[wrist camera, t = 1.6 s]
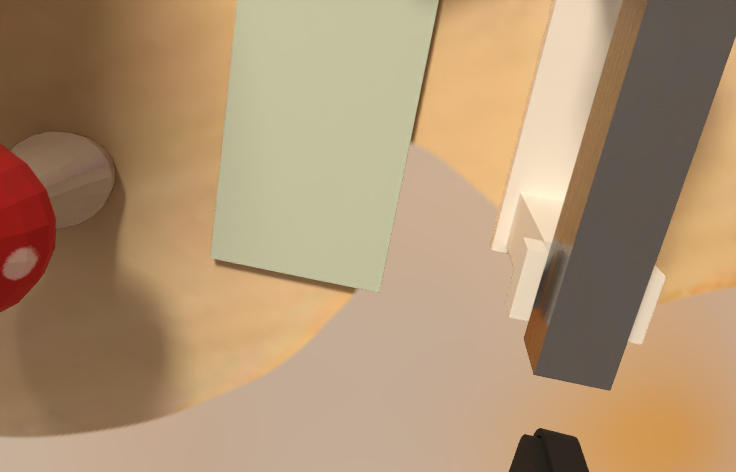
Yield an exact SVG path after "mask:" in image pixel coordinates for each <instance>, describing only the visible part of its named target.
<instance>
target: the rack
mask: <svg viewBox="0 0 736 472" xmlns="http://www.w3.org/2000/svg"><path fill="white" fill-rule="evenodd" d="M622 1H623V0H553V2H552V5H551V9H550V13H549V17H548V21H547V25H546V29H545V32H544V36H543V40H542V44H541V48H540V52H539V56H538V60H537V63H536V67H535V71H534V75H533V79H532V83H531V87H530V90H529V94H528V98H527V102H526V106H525V110H524V114H523V118H522V121H521V125H520V129H519V133H518V137H517V141H516V145H515V148H514V152H513V156H512V160H511V164H510V168H509V172H508V176H507V179H506V183H505V187H504V191H503V195H502V199H501V203H500V206H499V210H498V214H497V218H496V222H495V226H494V230H493V234H492V237H491V241H490V247H491V250H492V251H497V252H502V253H507V254H509V255H510V258H511V261H512V264H513V268H514V272H513V275H512V278H511V282H510V286H509V289H508V293H507V297H506V300H505V304H506V308H507V312H508V317H509V318H513V319H518V320H523V321H529V318H530V314H531V310H532V308H533V305H534V302H535V299H536V295H537V292H538V288H539V285H540V281H541V278H542V275H543V271H544V268H545V264H546V261H547V258H548V254H549V251H550V247H551V244H552V240H553V237H554V234H555V230H556V227H557V223H558V220H559V217H560V213H561V210H562V206H563V203H564V200H565V196H566V193H567V189H568V186H569V182H570V179H571V176H572V172H573V169H574V165H575V162H576V159H577V155H578V152H579V148H580V145H581V141H582V138H583V135H584V131H585V128H586V124H587V121H588V118H589V114H590V111H591V107H592V104H593V100H594V97H595V94H596V90H597V87H598V83H599V80H600V77H601V73H602V70H603V66H604V63H605V59H606V56H607V53H608V49H609V46H610V42H611V39H612V36H613V32H614V29H615V25H616V22H617V18H618V15H619V12H620V8H621V5H622ZM665 279H666V276H665V275H664V274H663V273H662V272H661V271H660V270H659V269H658V267H657V266H656V265H655V266H654V268H653V271H652V274H651V277H650V280H649V283H648V285H647V288H646V291H645V294H644V297H643V300H642V302H641V305H640V308H639V311H638V314H637V316H636V319H635V322H634V325H633V328H632V331H631V333H630V336H629V339H628V342H630V343H636V344H640V345H641V344H642V342H643V339H644V337H645V334H646V331H647V328H648V326H649V323H650V320H651V317H652V314H653V312H654V309H655V306H656V304H657V301H658V298H659V295H660V293H661V290H662V287H663V284H664V282H665Z"/></svg>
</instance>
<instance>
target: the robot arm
mask: <svg viewBox="0 0 736 472" xmlns="http://www.w3.org/2000/svg"><path fill="white" fill-rule="evenodd" d="M509 472H589V470H588V467H587V464H586V461H585V459H584V455H583V453H582V449H581V446H580V443H579V441H578V439H577V438H576V437H574V436H570V435H566V434H562V433H558V432H554V431H550V430H546V429H542V428H539V429H537V430H536V432H535V433H534V436H530V435H526V434H525V435H523V436H522V437H521V439H520V442H519V444H518V447H517V450H516V453H515V456H514V459H513V461H512V464H511V467H510V470H509Z"/></svg>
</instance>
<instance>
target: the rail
mask: <svg viewBox="0 0 736 472" xmlns="http://www.w3.org/2000/svg"><path fill="white" fill-rule="evenodd" d="M735 37H736V0H623V1H622V5H621V8H620V12H619V15H618V18H617V22H616V25H615V29H614V32H613V36H612V39H611V42H610V46H609V49H608V53H607V56H606V59H605V63H604V66H603V70H602V73H601V77H600V80H599V83H598V87H597V90H596V94H595V97H594V100H593V104H592V107H591V111H590V114H589V118H588V121H587V124H586V128H585V131H584V135H583V138H582V141H581V145H580V148H579V152H578V155H577V159H576V162H575V165H574V169H573V172H572V176H571V179H570V182H569V186H568V189H567V193H566V196H565V200H564V203H563V206H562V210H561V213H560V217H559V220H558V223H557V227H556V230H555V234H554V237H553V240H552V244H551V247H550V251H549V254H548V258H547V261H546V264H545V268H544V271H543V275H542V278H541V281H540V285H539V288H538V292H537V295H536V299H535V302H534V305H533V309H532V312H531V316H530V319H529V323H528V326H527V329H526V333H525V336H524V341H525V345H526V349H527V352H528V356H529V359H530V363H531V367H532V370H533V374H534V375H537V376H542V377H547V378H552V379H557V380H562V381H566V382H571V383H576V384H581V385H585V386H591V387H595V388H600V389H605V390H611V387H612V384H613V381H614V379H615V376H616V373H617V370H618V367H619V364H620V362H621V359H622V356H623V353H624V350H625V347H626V345H627V342H628V339H629V336H630V333H631V331H632V328H633V325H634V322H635V319H636V316H637V314H638V311H639V308H640V305H641V302H642V300H643V297H644V294H645V291H646V288H647V285H648V283H649V280H650V277H651V274H652V271H653V268H654V266H655V263H656V260H657V257H658V254H659V251H660V249H661V246H662V243H663V240H664V237H665V235H666V232H667V229H668V226H669V223H670V220H671V218H672V215H673V212H674V209H675V206H676V203H677V201H678V198H679V195H680V192H681V189H682V187H683V184H684V181H685V178H686V175H687V172H688V170H689V167H690V164H691V161H692V158H693V155H694V153H695V150H696V147H697V144H698V141H699V139H700V136H701V133H702V130H703V127H704V124H705V122H706V119H707V116H708V113H709V110H710V107H711V105H712V102H713V99H714V96H715V93H716V90H717V88H718V85H719V82H720V79H721V76H722V74H723V71H724V68H725V65H726V62H727V59H728V57H729V54H730V51H731V48H732V45H733V42H734V40H735Z"/></svg>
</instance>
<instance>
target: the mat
mask: <svg viewBox="0 0 736 472" xmlns="http://www.w3.org/2000/svg"><path fill="white" fill-rule="evenodd" d="M438 2H439V0H237V8H236V18H235V28H234V37H233V47H232V56H231V66H230V75H229V85H228V94H227V104H226V114H225V123H224V133H223V142H222V152H221V161H220V171H219V180H218V190H217V200H216V209H215V219H214V228H213V238H212V247H211V257H210V258H212V259H217V260H222V261H227V262H231V263H236V264H241V265H246V266H251V267H256V268H261V269H266V270H270V271H275V272H280V273H285V274H290V275H295V276H300V277H304V278H309V279H314V280H319V281H324V282H329V283H334V284H339V285H343V286H348V287H353V288H358V289H363V290H368V291H373V292H377V293H379V292H380V288H381V283H382V278H383V273H384V268H385V263H386V258H387V254H388V249H389V244H390V239H391V234H392V229H393V224H394V219H395V214H396V209H397V204H398V199H399V194H400V189H401V184H402V180H403V174H404V170H405V165H406V160H407V155H408V150H409V145H410V140H411V135H412V130H413V126H414V121H415V116H416V111H417V106H418V101H419V96H420V91H421V86H422V81H423V76H424V71H425V66H426V62H427V57H428V52H429V47H430V42H431V37H432V32H433V27H434V22H435V17H436V12H437V7H438Z"/></svg>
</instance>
